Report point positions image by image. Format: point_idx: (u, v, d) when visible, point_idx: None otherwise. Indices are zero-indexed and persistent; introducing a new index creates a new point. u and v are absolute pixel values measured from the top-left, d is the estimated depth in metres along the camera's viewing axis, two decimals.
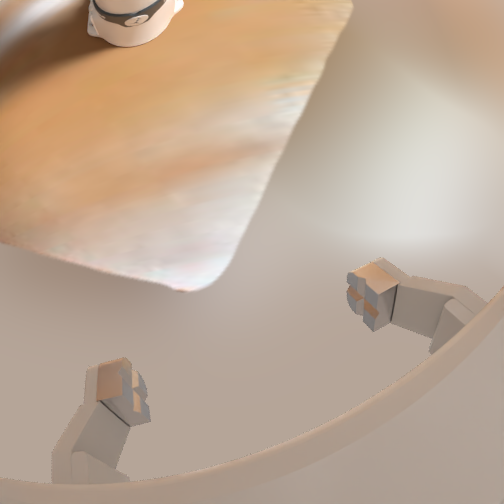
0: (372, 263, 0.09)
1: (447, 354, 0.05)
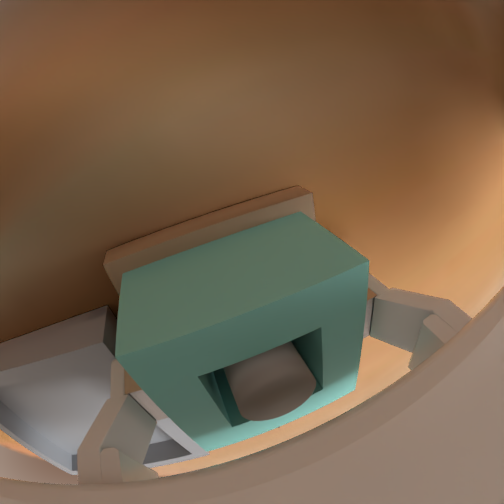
0: None
1: (447, 355, 0.05)
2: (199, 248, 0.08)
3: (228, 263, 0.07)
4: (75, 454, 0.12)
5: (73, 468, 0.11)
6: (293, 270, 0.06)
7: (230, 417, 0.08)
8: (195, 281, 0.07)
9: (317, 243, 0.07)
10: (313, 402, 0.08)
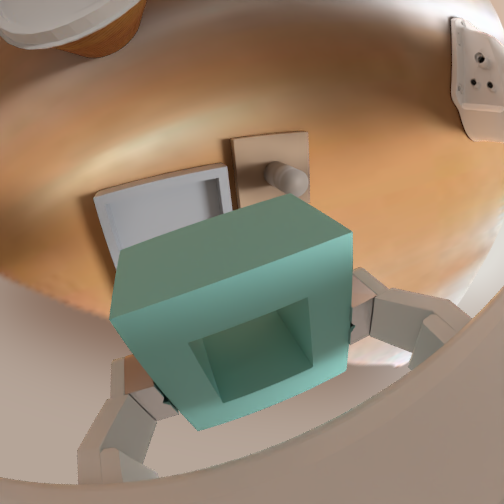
0: None
1: (447, 354, 0.05)
2: (194, 226, 0.09)
3: (220, 237, 0.08)
4: None
5: None
6: (279, 240, 0.07)
7: (221, 394, 0.08)
8: (188, 252, 0.07)
9: (304, 218, 0.08)
10: (304, 380, 0.09)
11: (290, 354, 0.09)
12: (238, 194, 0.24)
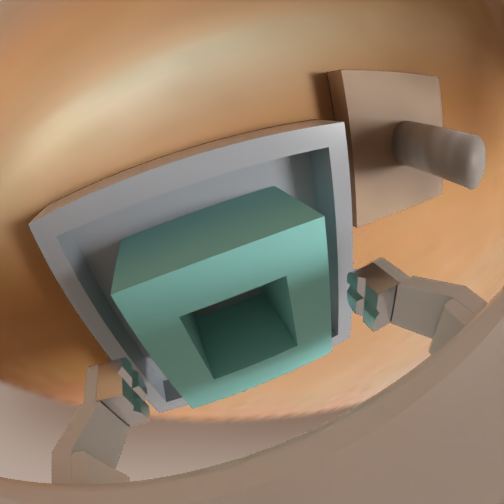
0: (372, 263, 0.09)
1: (448, 354, 0.05)
2: (186, 216, 0.10)
3: (208, 224, 0.09)
4: None
5: (168, 398, 0.12)
6: (259, 225, 0.08)
7: (213, 371, 0.09)
8: (180, 238, 0.08)
9: (283, 206, 0.09)
10: (290, 359, 0.10)
11: (277, 334, 0.10)
12: (351, 184, 0.11)
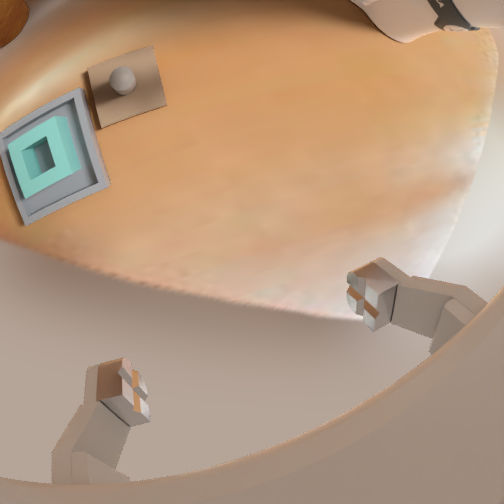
0: (372, 263, 0.09)
1: (447, 354, 0.05)
2: None
3: None
4: (34, 211, 0.23)
5: (29, 215, 0.22)
6: None
7: (32, 179, 0.20)
8: None
9: None
10: (54, 173, 0.20)
11: None
12: (97, 110, 0.22)
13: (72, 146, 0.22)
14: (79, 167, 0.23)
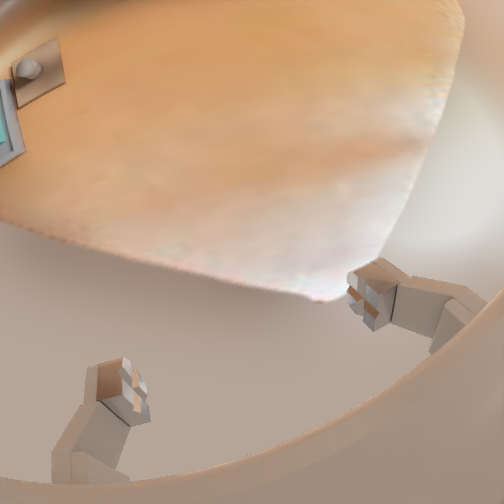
0: (372, 263, 0.09)
1: (448, 355, 0.05)
2: None
3: None
4: None
5: None
6: None
7: None
8: None
9: None
10: None
11: None
12: (16, 94, 0.20)
13: None
14: (3, 140, 0.22)
